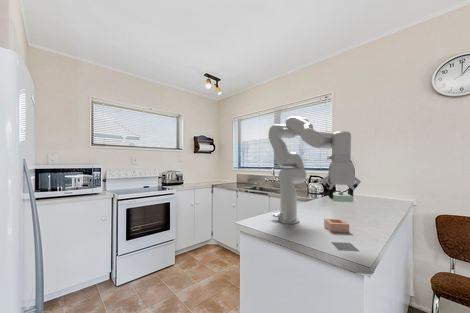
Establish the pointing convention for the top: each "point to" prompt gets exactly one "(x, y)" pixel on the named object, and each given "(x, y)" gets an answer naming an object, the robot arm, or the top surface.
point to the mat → (344, 246)
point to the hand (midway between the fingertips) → (340, 198)
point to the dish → (336, 225)
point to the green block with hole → (342, 197)
